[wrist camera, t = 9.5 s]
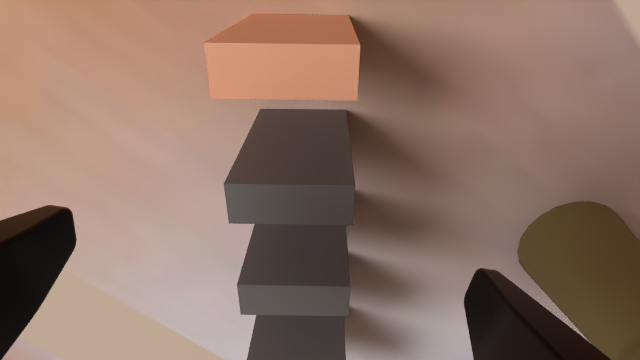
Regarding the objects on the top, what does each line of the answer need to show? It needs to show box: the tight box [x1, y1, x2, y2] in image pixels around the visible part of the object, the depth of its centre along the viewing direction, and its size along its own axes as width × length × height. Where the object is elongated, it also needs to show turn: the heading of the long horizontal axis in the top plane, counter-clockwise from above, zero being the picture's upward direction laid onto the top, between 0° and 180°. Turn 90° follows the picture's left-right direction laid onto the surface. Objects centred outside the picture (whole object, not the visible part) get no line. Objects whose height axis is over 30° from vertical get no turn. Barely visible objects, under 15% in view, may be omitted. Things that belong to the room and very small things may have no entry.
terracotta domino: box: [204, 14, 360, 101], centre depth 15 cm, size 2×4×8 cm, turn 89°
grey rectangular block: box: [237, 224, 350, 316], centre depth 19 cm, size 2×4×8 cm, turn 90°
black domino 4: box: [224, 109, 355, 225], centre depth 17 cm, size 2×4×8 cm, turn 90°
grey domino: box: [247, 315, 346, 360], centre depth 21 cm, size 2×4×8 cm, turn 90°
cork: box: [518, 202, 640, 360], centre depth 19 cm, size 6×6×11 cm
